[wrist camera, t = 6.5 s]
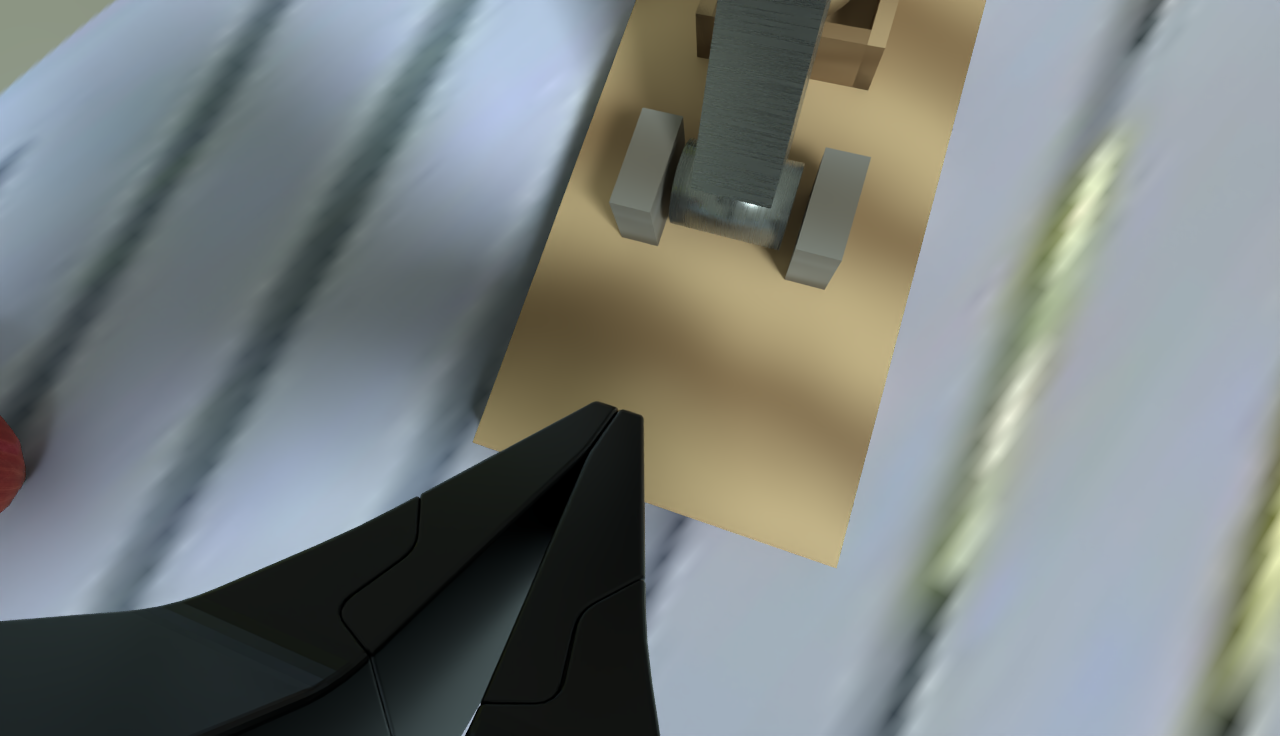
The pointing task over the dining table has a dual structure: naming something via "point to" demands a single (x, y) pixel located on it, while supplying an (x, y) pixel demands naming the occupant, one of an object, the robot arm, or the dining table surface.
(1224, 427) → the dining table surface
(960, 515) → the dining table surface
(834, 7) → the beige ball
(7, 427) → the onion
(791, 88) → the lever
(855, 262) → the base
